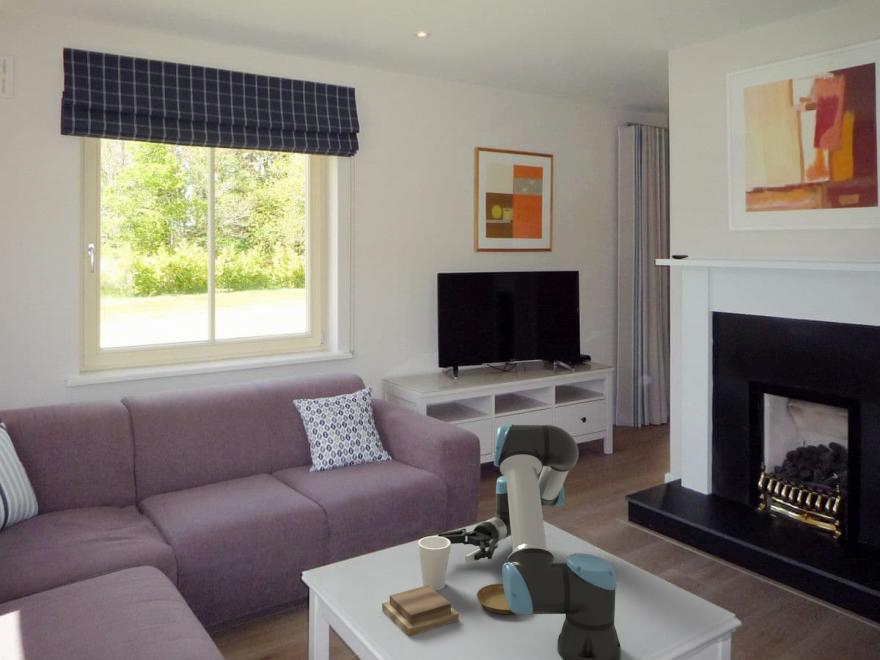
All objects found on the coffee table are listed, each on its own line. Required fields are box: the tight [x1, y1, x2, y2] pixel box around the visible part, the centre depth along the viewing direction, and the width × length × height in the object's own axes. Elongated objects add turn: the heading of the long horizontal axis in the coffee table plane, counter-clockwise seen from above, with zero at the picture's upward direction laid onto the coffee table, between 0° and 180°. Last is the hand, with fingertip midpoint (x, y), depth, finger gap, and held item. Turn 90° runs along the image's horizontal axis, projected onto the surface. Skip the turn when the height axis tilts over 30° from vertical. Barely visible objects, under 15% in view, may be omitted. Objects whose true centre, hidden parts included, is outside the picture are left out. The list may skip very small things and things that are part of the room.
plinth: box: [381, 585, 460, 637], centre depth 194 cm, size 15×15×4 cm
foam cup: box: [417, 535, 452, 591], centre depth 210 cm, size 10×9×13 cm
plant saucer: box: [476, 583, 515, 615], centre depth 200 cm, size 15×15×3 cm
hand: (448, 554), depth 216 cm, fingers open, 13 cm apart
